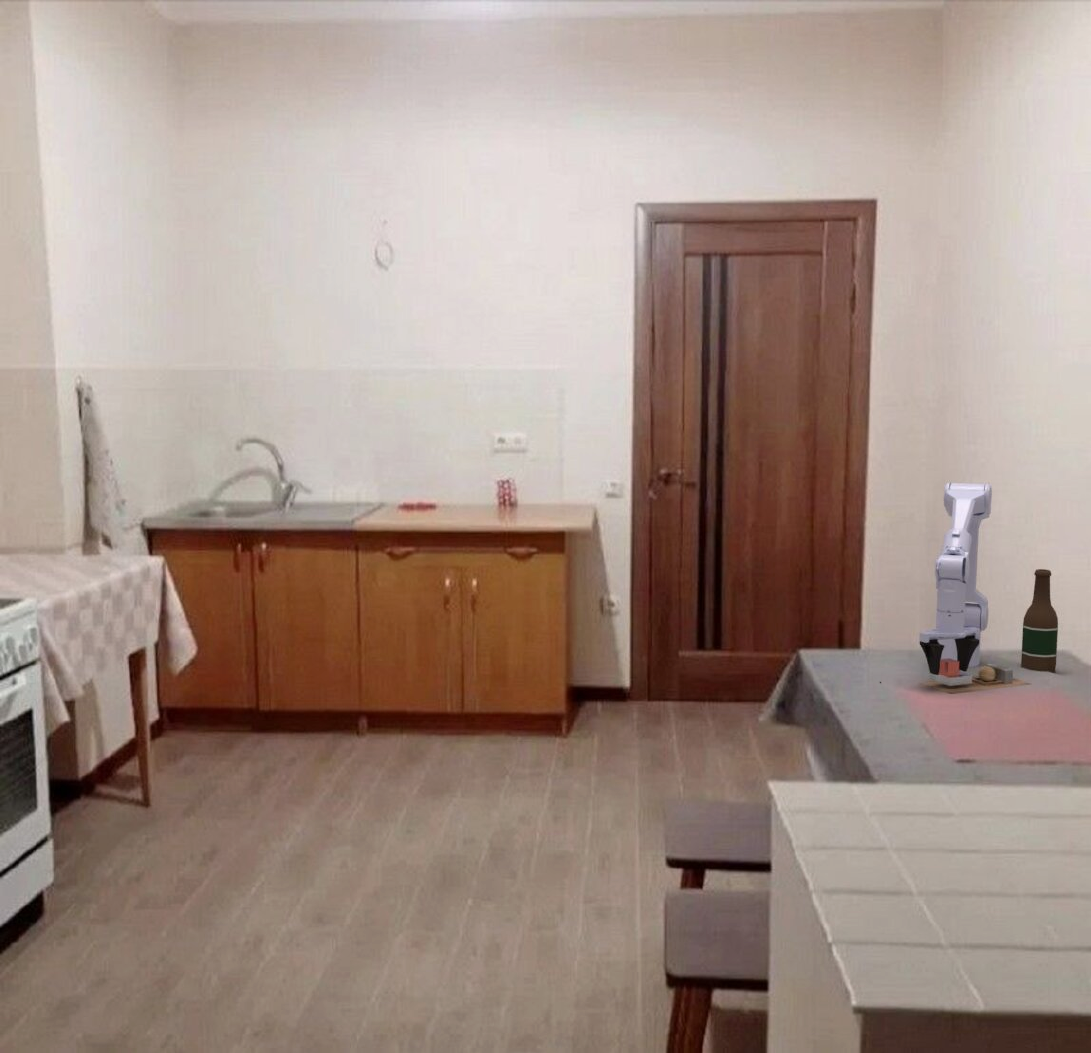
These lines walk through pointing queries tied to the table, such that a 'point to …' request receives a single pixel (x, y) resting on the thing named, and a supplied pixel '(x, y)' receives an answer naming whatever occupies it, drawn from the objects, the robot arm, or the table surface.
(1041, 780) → the table surface
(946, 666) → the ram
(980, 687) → the wooden puzzle board
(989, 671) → the walnut
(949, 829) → the table surface
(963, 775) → the table surface
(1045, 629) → the beer bottle
